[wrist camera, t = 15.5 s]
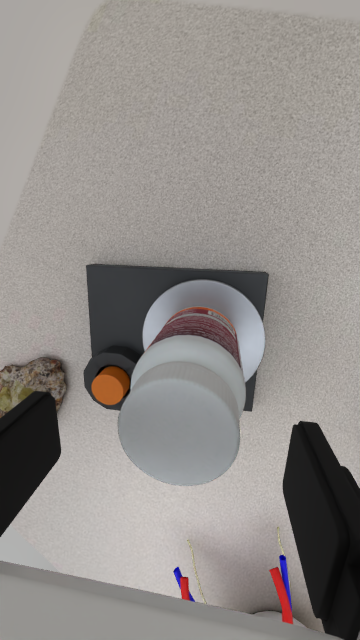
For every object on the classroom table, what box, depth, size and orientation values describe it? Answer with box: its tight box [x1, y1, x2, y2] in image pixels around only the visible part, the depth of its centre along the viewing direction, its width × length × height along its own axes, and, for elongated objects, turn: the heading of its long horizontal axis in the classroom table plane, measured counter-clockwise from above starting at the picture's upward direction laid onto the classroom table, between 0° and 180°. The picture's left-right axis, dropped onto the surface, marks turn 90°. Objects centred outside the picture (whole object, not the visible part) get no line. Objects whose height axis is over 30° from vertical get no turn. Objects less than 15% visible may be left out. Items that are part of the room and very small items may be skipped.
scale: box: [84, 264, 269, 411], centre depth 24 cm, size 16×14×4 cm
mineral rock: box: [0, 357, 66, 418], centre depth 30 cm, size 11×4×8 cm
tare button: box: [92, 366, 130, 405], centre depth 24 cm, size 3×3×2 cm
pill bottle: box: [118, 306, 246, 486], centre depth 16 cm, size 6×6×11 cm
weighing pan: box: [142, 279, 265, 382], centre depth 22 cm, size 10×10×1 cm
